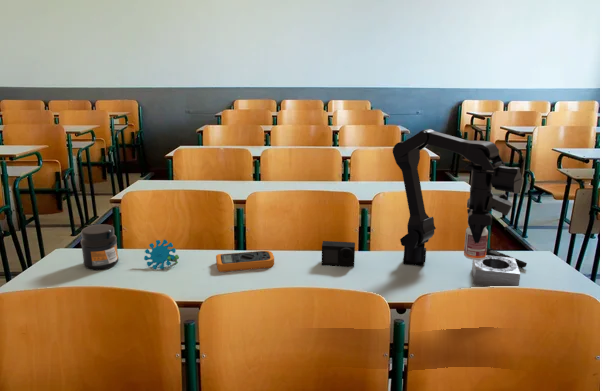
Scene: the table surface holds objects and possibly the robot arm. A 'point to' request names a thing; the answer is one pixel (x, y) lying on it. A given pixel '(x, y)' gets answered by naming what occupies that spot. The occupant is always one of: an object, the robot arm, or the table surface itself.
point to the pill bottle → (475, 245)
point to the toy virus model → (161, 254)
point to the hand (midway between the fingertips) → (476, 238)
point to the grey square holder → (495, 271)
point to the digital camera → (338, 254)
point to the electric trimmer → (494, 253)
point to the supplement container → (99, 247)
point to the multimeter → (244, 261)
